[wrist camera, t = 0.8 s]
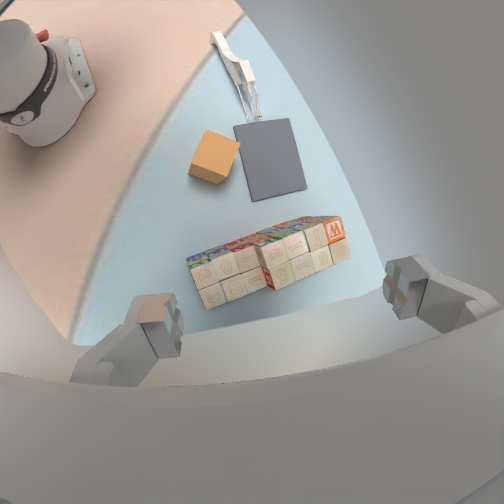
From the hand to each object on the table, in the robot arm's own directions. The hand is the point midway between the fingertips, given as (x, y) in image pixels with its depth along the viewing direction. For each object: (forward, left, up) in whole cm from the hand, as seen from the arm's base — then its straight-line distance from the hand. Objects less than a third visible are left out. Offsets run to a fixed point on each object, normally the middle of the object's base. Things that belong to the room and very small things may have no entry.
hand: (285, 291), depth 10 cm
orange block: (-11, +4, -36) cm, 38 cm away
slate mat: (-10, +15, -36) cm, 40 cm away
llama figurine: (-26, +12, -36) cm, 46 cm away
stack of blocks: (+5, +8, -36) cm, 37 cm away
